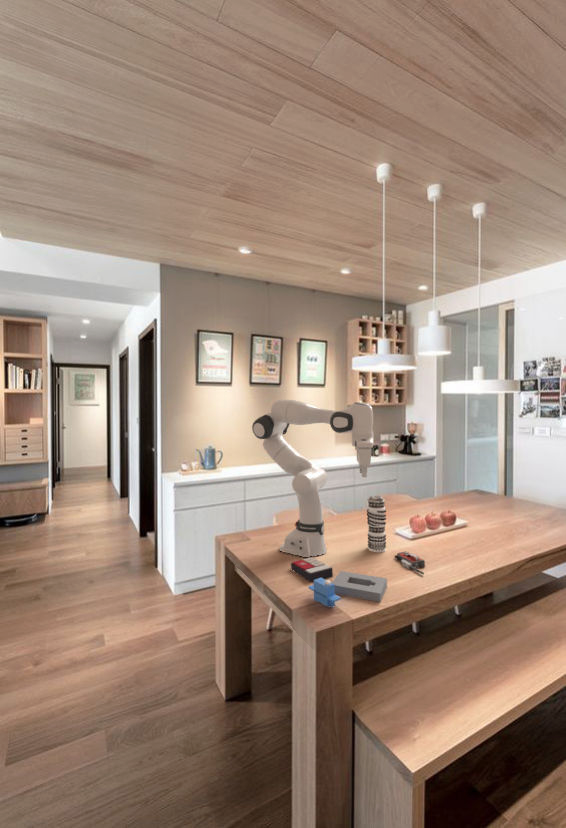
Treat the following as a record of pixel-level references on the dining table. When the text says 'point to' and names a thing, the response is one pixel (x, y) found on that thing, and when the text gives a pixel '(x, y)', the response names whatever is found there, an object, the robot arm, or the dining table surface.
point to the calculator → (312, 569)
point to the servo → (324, 592)
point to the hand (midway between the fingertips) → (363, 475)
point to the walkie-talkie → (410, 561)
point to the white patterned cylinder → (376, 524)
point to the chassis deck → (360, 586)
